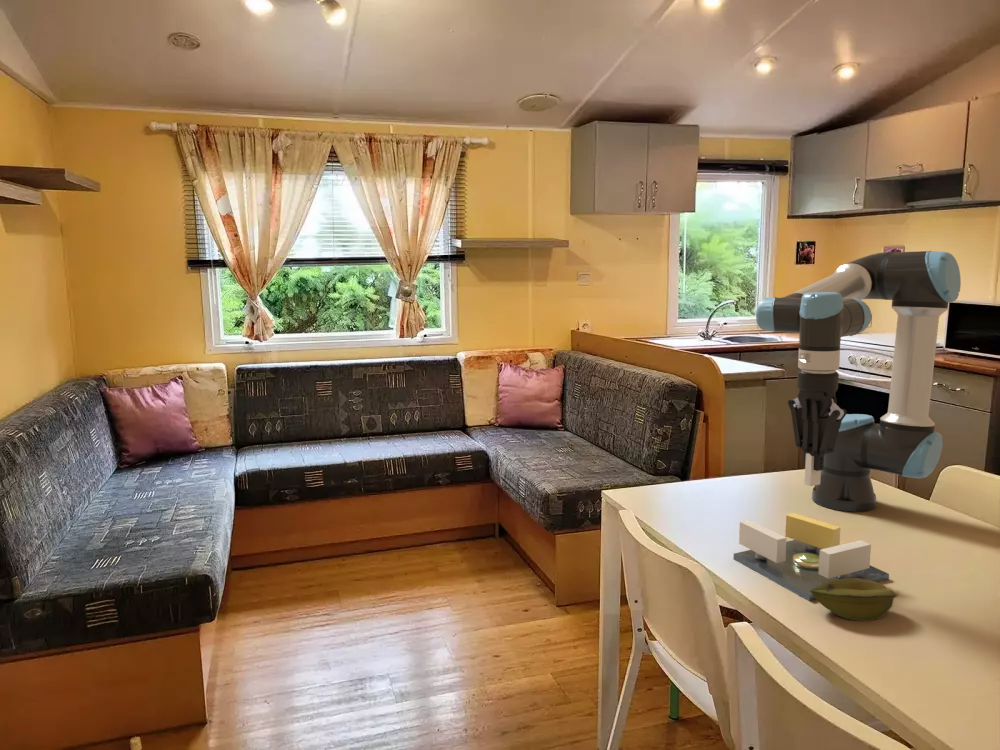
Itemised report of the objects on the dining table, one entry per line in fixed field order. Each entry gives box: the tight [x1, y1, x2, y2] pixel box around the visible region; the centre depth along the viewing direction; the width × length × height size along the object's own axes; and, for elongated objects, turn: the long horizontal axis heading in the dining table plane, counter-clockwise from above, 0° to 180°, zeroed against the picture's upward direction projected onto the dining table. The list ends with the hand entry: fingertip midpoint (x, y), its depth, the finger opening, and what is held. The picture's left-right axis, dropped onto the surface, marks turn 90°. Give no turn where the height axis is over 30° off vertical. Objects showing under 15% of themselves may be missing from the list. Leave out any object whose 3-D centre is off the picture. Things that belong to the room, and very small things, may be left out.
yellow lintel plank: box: [784, 512, 841, 550], centre depth 153 cm, size 11×2×6 cm, turn 36°
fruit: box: [811, 578, 897, 622], centre depth 129 cm, size 11×12×7 cm
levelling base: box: [733, 539, 890, 602], centre depth 147 cm, size 21×21×3 cm
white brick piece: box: [818, 539, 872, 579], centre depth 140 cm, size 11×2×6 cm, turn 113°
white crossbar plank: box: [738, 519, 787, 563], centre depth 149 cm, size 11×2×6 cm, turn 23°
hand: (812, 484), depth 144 cm, fingers closed
